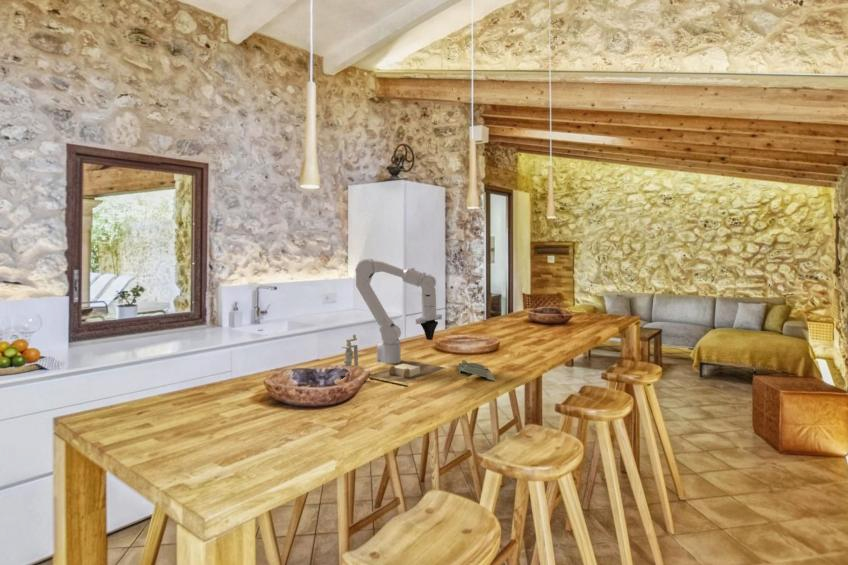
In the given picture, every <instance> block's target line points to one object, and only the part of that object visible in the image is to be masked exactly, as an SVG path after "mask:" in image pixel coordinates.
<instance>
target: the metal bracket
mask: <svg viewBox="0 0 848 565" xmlns="http://www.w3.org/2000/svg"><path fill="white" fill-rule="evenodd" d="M461 372H465V373H468V374H472V375H475V376H480V377H484V378H486V379H487V380H489V381H493V382H496V381H497V379H496V378H495V377H494V375H493V374H492V371H491V370H490V369H489V368H485V365H483V364H480V363H477V362H468V361H466V360H462V362H458V365H457V373H458V374H461Z"/></svg>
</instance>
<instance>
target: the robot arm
mask: <svg viewBox="0 0 848 565" xmlns="http://www.w3.org/2000/svg"><path fill="white" fill-rule="evenodd" d="M354 271H355V286H356V288H357V290H358V291H359V293H360V296H361V297H362V299H363V300H364V302H365V304H366V305H367V307H368V309H369V311H370V312H371V314H372V316H373V318H374V319H375V321H376V323H377V325H378V330H379V331H380V334H381V340H382V341H381V342H378V344H377V346H376V362H377V364H379V363H384V364H388V365H389V364H398V363H401V362H402V357H401V356H402V352H401V346H402V345H401V341H400V339H399V338H400V337H401V335H402V334H401V333H402V331H401V328H400V327H399V326H398V325H396V323H394V321H393V320H392V319H391V318H390V317H389V315H388V313H387V312H386V310H385V308H384V307H383V304H382V303H381V301H380V300H379V298H378V296H377V294H376V292H375V290H373V288H372V286H371V281H372V278H373V276H374V275H375V273H376V274H377V273H380V272H384V273H387V274H390V275H393V276H396V277H400V278H401V279H402V281H403V282H404V283H406V284H409V285H413V286H415V287H418V288H419V287H420V288H421V316H420V317H418V318H415V324H416V325H420V326H421V327H422V330H423V332H424V335H425V338H426V340H427V341H433V339H434V336H435V331H436V328H437V326H438V324H439V321H440V320H442V319H443V314H437V293H436V292H437V290H436V284H437V280H436V278H435V277H434V276H433V275H432V274H427V272H420V271H418V270H416V269H415V268H414V267H411V268H410V267H408V268H406V269H403V268H400V267H398V266H395V265H392V264H389V263H387V262H385V261H381V260H377V259H373V258H366V259H361V260H359V261H358V262H357V264H356V268H355V270H354ZM438 320H439V321H438Z"/></svg>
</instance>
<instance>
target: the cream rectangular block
mask: <svg viewBox="0 0 848 565" xmlns="http://www.w3.org/2000/svg"><path fill="white" fill-rule="evenodd" d="M394 366H395V374H396V375H401V376H404V369H409V370H410V377H411V376H414V375H417V374H420V367H419V366H413V365H408V364H406V363H400V364H396V365H394Z"/></svg>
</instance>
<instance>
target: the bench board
mask: <svg viewBox="0 0 848 565" xmlns="http://www.w3.org/2000/svg"><path fill="white" fill-rule="evenodd" d="M405 364H408V365H413V366H419V367H420V374H417V375H414V376H411V377H410V370H409V369H404V376H401V375H396V374H395V366H396V365H390V366H388V368H387V369H384V370H380V371H377V372H374V373H372V374H370V376H371V377H370V376H369V378H368V379H369V380H372V381H376V382H382V383H386V384H390V385H395V386H400V387H404V388H406V387H409V385H407V384H402V383H408V382H410V381H414V380H416V379H419V378H422V377H425V376H428V375H431V374H433V373H436V372H439V371H441V370H444V369H446V367H443V366H439V365H438V366H437V365H433V364H427V363H426V364H425V363H420V362H415V361H410V362H407V363H405ZM374 377H377V378H374ZM380 378H382V379H380ZM384 379H386V380H384ZM388 380H390V381H388ZM393 381H395V382H393ZM398 382H401V383H398Z"/></svg>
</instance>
